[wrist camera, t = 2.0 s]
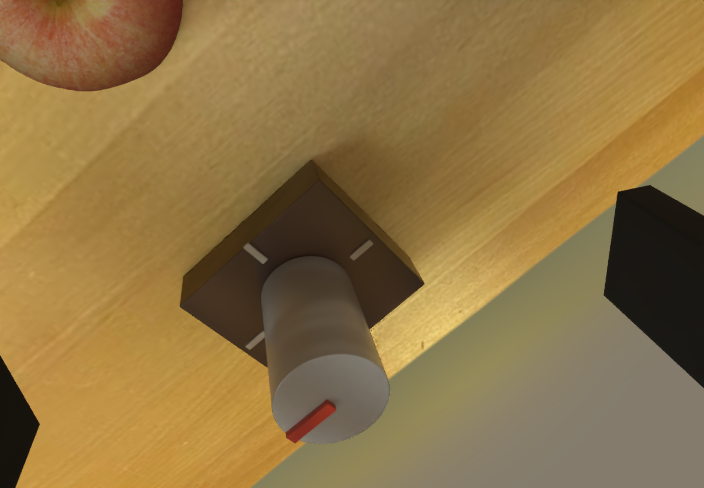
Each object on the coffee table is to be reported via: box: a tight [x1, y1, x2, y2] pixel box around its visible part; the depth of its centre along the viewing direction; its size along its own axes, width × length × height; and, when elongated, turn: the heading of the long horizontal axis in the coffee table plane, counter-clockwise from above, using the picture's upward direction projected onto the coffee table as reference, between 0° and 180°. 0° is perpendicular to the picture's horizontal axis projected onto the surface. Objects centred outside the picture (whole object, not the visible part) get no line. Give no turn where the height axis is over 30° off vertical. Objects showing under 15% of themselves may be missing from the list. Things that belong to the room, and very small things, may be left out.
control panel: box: [180, 160, 424, 368], centre depth 31 cm, size 10×9×3 cm
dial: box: [261, 256, 390, 444], centre depth 26 cm, size 5×5×8 cm
